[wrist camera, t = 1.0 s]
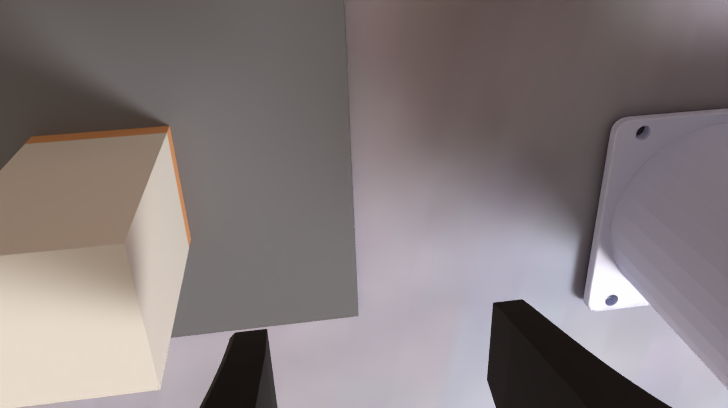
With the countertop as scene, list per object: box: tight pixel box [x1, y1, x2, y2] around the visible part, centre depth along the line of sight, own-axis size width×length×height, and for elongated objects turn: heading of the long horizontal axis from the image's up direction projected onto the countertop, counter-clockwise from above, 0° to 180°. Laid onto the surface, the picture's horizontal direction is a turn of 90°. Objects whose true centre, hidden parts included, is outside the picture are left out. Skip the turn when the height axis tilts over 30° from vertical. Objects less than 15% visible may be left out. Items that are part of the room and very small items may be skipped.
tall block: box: [0, 126, 191, 408], centre depth 16 cm, size 4×4×7 cm
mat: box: [0, 0, 358, 338], centre depth 19 cm, size 18×12×1 cm, turn 91°
